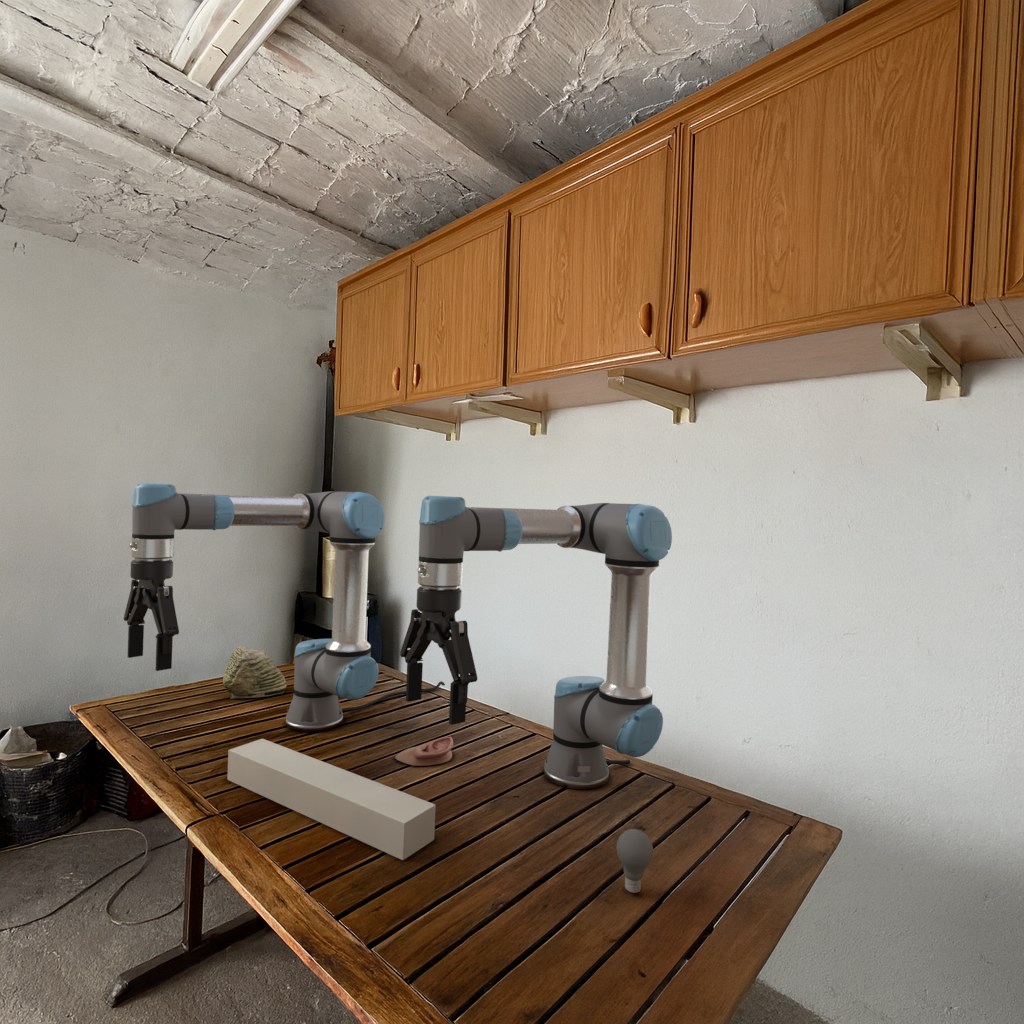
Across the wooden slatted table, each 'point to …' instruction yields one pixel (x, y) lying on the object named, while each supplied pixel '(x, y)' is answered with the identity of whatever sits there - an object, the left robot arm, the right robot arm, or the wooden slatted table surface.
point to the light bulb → (634, 857)
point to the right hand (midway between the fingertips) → (434, 711)
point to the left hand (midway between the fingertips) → (148, 662)
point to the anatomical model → (428, 753)
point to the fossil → (252, 674)
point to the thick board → (335, 797)
